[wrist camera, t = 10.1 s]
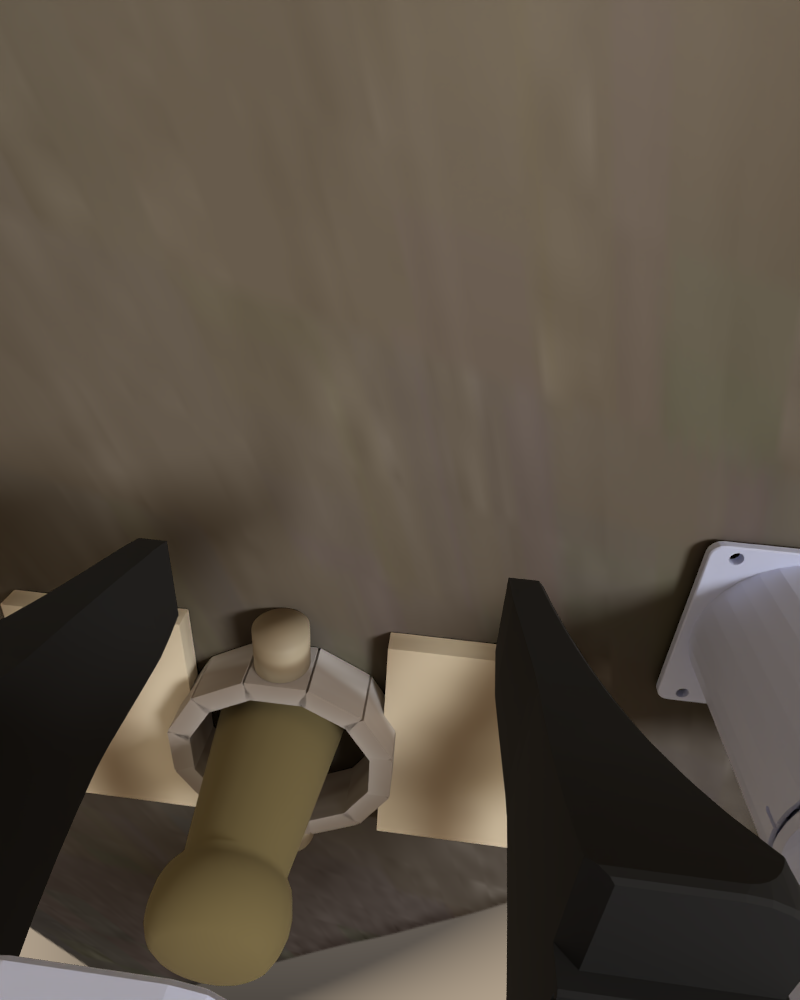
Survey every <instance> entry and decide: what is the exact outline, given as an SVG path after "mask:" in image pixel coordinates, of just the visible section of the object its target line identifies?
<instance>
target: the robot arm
mask: <svg viewBox="0 0 800 1000" xmlns="http://www.w3.org/2000/svg"><path fill="white" fill-rule="evenodd" d="M737 553H740V555H739V556H738V557H736V558H733V559H730V557H731V556H732V555H733V554H737ZM178 616H179V614H178V608H177V602H176V596H175V589H174V583H173V577H172V571H171V565H170V558H169V552H168V546H167V541H161V540H151V539H142V538H138V539H137V540H135V541H133V542H131V543H129V544H128V545H126V546H124V547H123V548H121V549H119V550H118V551H116V552H114V553H113V554H111V555H110V556H108V557H106V558H105V559H103V560H102V561H100V562H98V563H97V564H95V565H94V566H92V567H90V568H89V569H87V570H86V571H84V572H82V573H81V574H79V575H77V576H76V577H74V578H73V579H71V580H69V581H68V582H66V583H64V584H63V585H61V586H60V587H58V588H56V589H55V590H53V591H51V592H50V593H48V594H46V595H44V596H42V597H41V598H39V599H37V600H35V601H34V602H32V603H30V604H28V605H26V606H25V607H23V608H21V609H19V610H18V611H16V612H14V613H12V614H11V615H9V616H7V617H5V618H3V619H1V620H0V1000H227V999H225V998H223V997H221V996H220V995H218V994H216V993H214V992H212V991H211V990H209V989H207V988H203V987H199V986H196V985H192V984H188V983H184V982H181V981H177V980H173V979H167V978H160V977H154V976H147V975H140V974H133V973H127V972H120V971H113V970H106V969H99V968H93V967H86V966H79V965H72V964H66V963H59V962H51V961H45V960H39V959H32V958H24V957H19V955H20V952H21V949H22V946H23V944H24V941H25V938H26V936H27V933H28V930H29V927H30V925H31V922H32V919H33V916H34V914H35V911H36V909H37V906H38V904H39V901H40V899H41V896H42V894H43V891H44V889H45V886H46V884H47V881H48V879H49V876H50V874H51V871H52V869H53V866H54V864H55V861H56V859H57V856H58V854H59V852H60V849H61V847H62V845H63V842H64V840H65V838H66V836H67V833H68V831H69V829H70V826H71V824H72V822H73V819H74V817H75V815H76V812H77V810H78V808H79V806H80V804H81V801H82V799H83V797H84V795H85V793H86V791H87V789H88V786H89V784H90V782H91V780H92V778H93V776H94V773H95V771H96V769H97V767H98V765H99V763H100V761H101V760H102V758H103V756H104V754H105V752H106V750H107V748H108V747H109V745H110V743H111V741H112V740H113V738H114V736H115V735H116V733H117V731H118V730H119V728H120V726H121V725H122V723H123V721H124V720H125V718H126V716H127V715H128V713H129V711H130V710H131V708H132V706H133V705H134V703H135V701H136V700H137V698H138V696H139V694H140V693H141V691H142V689H143V688H144V686H145V684H146V683H147V681H148V679H149V677H150V676H151V674H152V672H153V671H154V669H155V667H156V665H157V664H158V662H159V660H160V658H161V657H162V654H163V652H164V650H165V647H166V645H167V643H168V641H169V638H170V636H171V633H172V631H173V628H174V626H175V623H176V621H177V618H178ZM656 689H657V692H658V694H659V696H661V697H662V698H665V699H672V700H680V701H689V702H697V703H706V704H707V705H708V707H709V710H710V713H711V715H712V718H713V720H714V723H715V725H716V728H717V730H718V733H719V736H720V738H721V741H722V743H723V746H724V748H725V751H726V753H727V756H728V759H729V761H730V764H731V766H732V769H733V771H734V774H735V776H736V779H737V782H738V784H739V787H740V789H741V792H742V794H743V797H744V799H745V802H746V805H747V807H748V810H749V812H750V815H751V817H752V820H753V822H754V825H755V828H756V830H757V833H758V835H759V837H758V836H756V835H755V834H754V833H752V832H751V831H750V830H748V829H747V828H746V827H745V826H743V825H742V824H741V823H739V822H738V821H737V820H735V819H734V818H733V817H731V816H730V815H729V814H728V813H727V812H725V811H724V810H723V809H722V808H721V807H719V806H718V805H717V804H716V803H715V802H714V801H712V800H711V799H710V798H709V797H708V796H707V795H706V794H704V793H703V792H702V791H701V790H700V789H699V788H697V787H696V786H695V785H694V784H693V783H692V782H691V781H690V780H689V779H688V778H686V777H685V776H684V775H683V774H682V773H681V772H680V771H679V770H678V769H677V768H676V767H675V766H674V765H673V764H672V763H671V762H670V761H669V760H668V759H667V758H666V757H665V756H664V755H663V754H662V753H661V752H660V751H659V750H658V749H657V748H656V747H655V746H654V745H653V744H652V743H651V742H650V741H649V740H648V739H647V738H646V737H645V736H644V735H643V733H642V732H641V731H640V730H639V729H638V728H637V727H636V726H635V724H634V723H633V722H632V721H631V720H630V719H629V717H628V716H627V715H626V714H625V713H624V712H623V710H622V709H621V708H620V707H619V705H618V704H617V703H616V702H615V700H614V699H613V698H612V696H611V695H610V694H609V693H608V691H607V690H606V689H605V687H604V686H603V684H602V683H601V682H600V680H599V679H598V678H597V676H596V675H595V673H594V672H593V671H592V669H591V668H590V666H589V665H588V663H587V662H586V660H585V659H584V657H583V656H582V654H581V652H580V651H579V649H578V648H577V646H576V645H575V643H574V641H573V640H572V638H571V637H570V635H569V633H568V632H567V630H566V628H565V627H564V625H563V623H562V621H561V620H560V618H559V616H558V614H557V612H556V611H555V609H554V607H553V605H552V603H551V601H550V599H549V597H548V595H547V593H546V591H545V589H544V587H543V586H542V584H541V583H540V582H539V581H535V580H525V579H516V578H509V579H508V584H507V590H506V595H505V601H504V606H503V612H502V617H501V623H500V628H499V634H498V639H497V645H496V650H495V703H496V713H497V723H498V732H499V742H500V751H501V760H502V770H503V779H504V789H505V799H506V814H507V998H506V1000H800V549H796V548H786V547H776V546H767V545H757V544H747V543H737V542H727V541H718V542H715V543H713V544H711V545H710V546H709V547H708V548H707V550H706V552H705V554H704V557H703V560H702V562H701V565H700V568H699V571H698V573H697V576H696V579H695V581H694V584H693V587H692V589H691V592H690V595H689V597H688V600H687V603H686V605H685V608H684V611H683V614H682V616H681V619H680V622H679V624H678V627H677V630H676V632H675V635H674V638H673V640H672V643H671V646H670V648H669V651H668V654H667V656H666V659H665V662H664V665H663V667H662V670H661V673H660V675H659V678H658V681H657V683H656ZM679 689H683V690H679Z"/></svg>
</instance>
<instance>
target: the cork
mask: <svg viewBox="0 0 800 1000" xmlns="http://www.w3.org/2000/svg"><path fill="white" fill-rule="evenodd" d="M343 731H344V728H342V727H340V726H338V725H336V724H334V723H333V722H331V721H329V720H327V719H325V718H323V717H321V716H319V715H317V714H315V713H313V712H311V711H309V710H307V709H305V708H303V707H302V706H294V705H286V704H277V703H269V702H261V701H253V700H249V701H246V702H243V703H239V704H236V705H233V706H229V707H226V708H223V709H221V711H220V715H219V719H218V723H217V726H216V730H215V734H214V738H213V742H212V746H211V749H210V753H209V757H208V761H207V765H206V769H205V773H204V776H203V780H202V784H201V788H200V792H199V796H198V799H197V803H196V807H195V811H194V815H193V819H192V822H191V826H190V830H189V834H188V838H187V842H186V845H185V849H184V851H183V852H181V853H180V854H179V855H177V856H176V857H175V858H174V859H172V860H171V861H170V862H169V863H168V864H167V865H166V867H165V868H164V869H163V871H162V872H161V874H160V875H159V876H158V878H157V880H156V883H155V885H154V887H153V889H152V892H151V894H150V897H149V900H148V902H147V905H146V911H145V916H144V922H143V924H144V933H145V940H146V943H147V947H148V949H149V950H150V952H151V953H152V954H153V955H154V957H155V958H156V959H157V960H158V961H159V962H160V964H161V965H163V966H164V967H166V968H167V969H168V970H170V971H171V972H173V973H175V974H177V975H179V976H182V977H184V978H186V979H189V980H192V981H196V982H199V983H203V984H210V985H216V986H234V985H239V984H244V983H248V982H250V981H253V980H255V979H257V978H259V977H261V976H262V975H265V973H266V972H267V971H268V970H269V969H270V968H271V966H272V965H273V964H274V963H275V962H276V960H277V959H278V957H279V955H280V954H281V952H282V950H283V948H284V946H285V943H286V941H287V939H288V937H289V932H290V928H291V923H292V890H291V887H290V885H289V882H288V879H287V878H288V875H289V872H290V870H291V867H292V865H293V862H294V859H295V857H296V854H297V851H298V849H299V846H300V844H301V841H302V838H303V836H304V833H305V831H306V828H307V825H308V823H309V820H310V818H311V815H312V812H313V810H314V807H315V805H316V802H317V799H318V797H319V794H320V791H321V789H322V786H323V784H324V781H325V778H326V776H327V773H328V771H329V768H330V765H331V763H332V760H333V758H334V755H335V752H336V750H337V747H338V744H339V742H340V739H341V737H342V734H343Z"/></svg>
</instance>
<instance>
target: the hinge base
mask: <svg viewBox="0 0 800 1000" xmlns="http://www.w3.org/2000/svg"><path fill="white" fill-rule="evenodd" d="M46 594H48V593H39V592H30V591H21V590H14V591H13V592H12V593H11V594H10V595H9V596H8V597H7V598H6V599H5V600H4V601H3V602H2V603H1V604H0V605H1V608H2V611H3V614H4V617H7V616H9V615H11V614H12V613H14V612H16V611H18V610H19V609H21V608H23V607H25V606H26V605H28V604H30V603H32V602H34V601H35V600H37V599H39V598H41V597H42V596H44V595H46ZM178 614H179V616H178V618H177V621H176V623H175V626H174V628H173V631H172V633H171V636H170V638H169V641H168V643H167V645H166V647H165V650H164V652H163V654H162V657H161V658H160V660H159V662H158V664H157V665H156V667H155V669H154V671H153V672H152V674H151V676H150V677H149V679H148V681H147V683H146V684H145V686H144V688H143V689H142V691H141V693H140V694H139V696H138V698H137V700H136V701H135V703H134V705H133V706H132V708H131V710H130V711H129V713H128V715H127V716H126V718H125V720H124V721H123V723H122V725H121V726H120V728H119V730H118V731H117V733H116V735H115V736H114V738H113V740H112V741H111V743H110V745H109V747H108V748H107V750H106V752H105V754H104V756H103V758H102V760H101V761H100V763H99V765H98V767H97V769H96V771H95V773H94V776H93V778H92V780H91V782H90V784H89V786H88V789H87V791H86V792H87V793H95V794H103V795H110V796H118V797H125V798H133V799H141V800H148V801H156V802H163V803H171V804H179V805H186V806H194V807H196V803H197V799H198V796H199V792H200V788H201V784H202V780H203V776H204V773H205V769H206V765H207V761H208V757H209V753H210V749H211V746H212V742H213V738H214V734H215V730H216V728H215V727H214V726H213V720H212V713H211V712H213V711H216V710H219V709H223V708H226V707H229V706H233V705H236V704H239V703H243V702H246V701H249V700H253V701H261V702H269V703H277V704H286V705H294V706H302V707H303V708H305V709H307V710H309V711H311V712H313V713H315V714H317V715H319V716H321V717H323V718H325V719H327V720H329V721H331V722H333V723H334V724H336V725H338V726H340V727H342V728H344V729H346V730H347V732H348V733H349V734H350V736H351V737H352V738H353V740H354V741H355V742H356V744H357V745H358V746H359V748H360V749H361V750H362V752H363V753H364V754H365V757H364V758H362V759H361V760H360V761H359V762H358V763H357V764H356V765H355V766H354V767H353V768H350V769H346V770H342V771H338V772H334V773H330V774H327V776H326V778H325V781H324V784H323V786H322V789H321V791H320V794H319V797H318V799H317V802H316V805H315V807H314V810H313V812H312V815H311V818H310V820H309V823H308V825H307V828H306V831H305V833H304V836H303V838H302V841H301V844H300V846H299V849H298V851H300V850H302V849H304V848H305V847H306V846H307V845H308V844H309V843H310V842H311V840H312V838H313V835H314V834H316V833H320V832H325V831H330V830H334V829H339V828H344V827H349V826H353V825H358V823H359V824H360V823H361V822H362V821H363V820H364V819H366V818H367V817H368V816H369V815H370V814H371V813H373V812H374V811H375V810H376V809H377V808H378V817H377V831H384V832H392V833H400V834H407V835H415V836H422V837H430V838H438V839H445V840H453V841H461V842H468V843H476V844H483V845H491V846H499V847H506V848H507V814H506V799H505V789H504V779H503V770H502V760H501V751H500V742H499V732H498V723H497V713H496V703H495V650H496V645H497V644H490V643H481V642H473V641H464V640H455V639H446V638H437V637H428V636H420V635H411V634H402V633H393V632H391V634H390V640H389V646H388V659H387V674H386V690H385V695H384V693H383V692H382V691H381V689H380V688H379V686H378V685H377V683H376V682H375V680H374V679H373V678H372V677H370V675H369V674H367V673H365V672H363V671H362V670H360V669H358V668H356V667H354V666H352V665H351V664H349V663H347V662H345V661H343V660H341V659H340V658H338V657H336V656H334V655H332V654H330V653H328V652H327V651H325V650H323V649H320V650H319V651H318V648H317V647H310V623H309V620H308V618H307V617H306V616H305V615H304V614H302V613H301V612H299V611H297V610H294V609H289V608H278V609H273V610H269V611H267V612H265V613H263V614H261V615H260V616H259V617H257V618H256V619H255V621H254V622H253V624H252V627H251V634H252V644H249V645H246V646H243V647H240V648H237V649H234V650H231V651H228V652H225V653H222V654H219V655H216V656H213V657H212V658H210V659H209V661H208V662H207V664H206V665H205V666H204V668H203V669H202V671H201V672H200V674H199V675H198V671H197V664H196V658H195V651H194V644H193V638H192V631H191V624H190V618H189V611H188V609H181V608H178ZM298 851H297V852H298Z"/></svg>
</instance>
